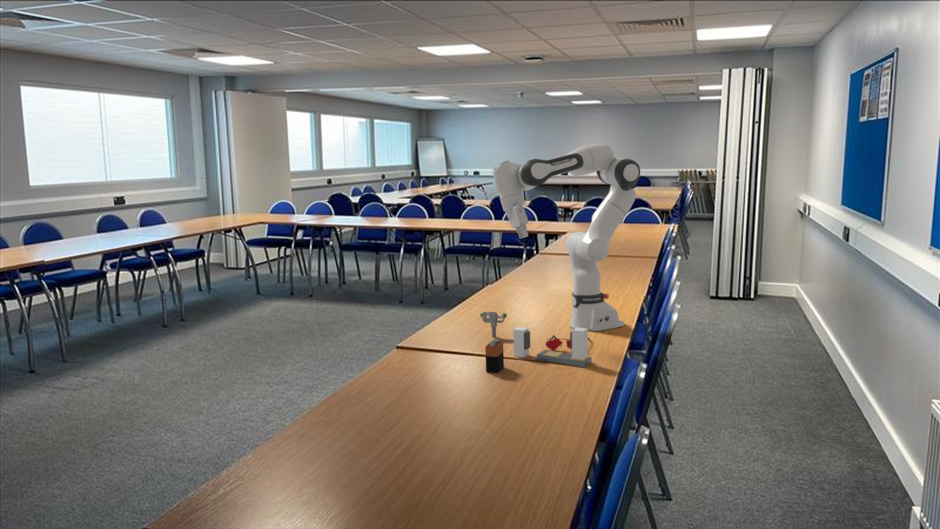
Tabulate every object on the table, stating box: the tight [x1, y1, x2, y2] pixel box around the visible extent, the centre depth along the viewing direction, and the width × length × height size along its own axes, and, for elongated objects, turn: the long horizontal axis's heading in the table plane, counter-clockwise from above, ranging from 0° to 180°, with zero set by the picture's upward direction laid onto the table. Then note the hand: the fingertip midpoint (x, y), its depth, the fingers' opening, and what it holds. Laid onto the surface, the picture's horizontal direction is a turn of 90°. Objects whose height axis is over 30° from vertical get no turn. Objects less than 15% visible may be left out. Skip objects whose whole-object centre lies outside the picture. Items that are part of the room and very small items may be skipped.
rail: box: [536, 350, 593, 368], centre depth 228 cm, size 18×6×2 cm, turn 57°
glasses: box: [544, 335, 592, 351], centre depth 246 cm, size 14×16×5 cm
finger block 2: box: [569, 327, 589, 360], centre depth 224 cm, size 5×4×10 cm
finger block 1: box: [513, 326, 531, 358], centre depth 235 cm, size 5×4×10 cm
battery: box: [484, 338, 505, 374], centre depth 221 cm, size 4×7×10 cm, turn 159°
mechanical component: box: [480, 311, 507, 339], centre depth 260 cm, size 3×10×10 cm, turn 79°
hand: (524, 237), depth 253 cm, fingers open, 8 cm apart
